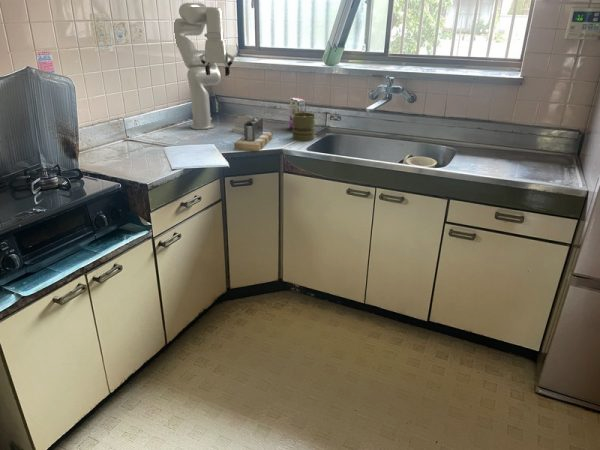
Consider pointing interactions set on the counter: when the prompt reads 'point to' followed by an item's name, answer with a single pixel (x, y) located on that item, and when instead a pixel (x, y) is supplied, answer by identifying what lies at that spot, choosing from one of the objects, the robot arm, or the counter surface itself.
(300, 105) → the candy bar box
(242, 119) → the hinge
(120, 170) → the counter surface
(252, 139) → the housing
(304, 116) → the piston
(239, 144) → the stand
